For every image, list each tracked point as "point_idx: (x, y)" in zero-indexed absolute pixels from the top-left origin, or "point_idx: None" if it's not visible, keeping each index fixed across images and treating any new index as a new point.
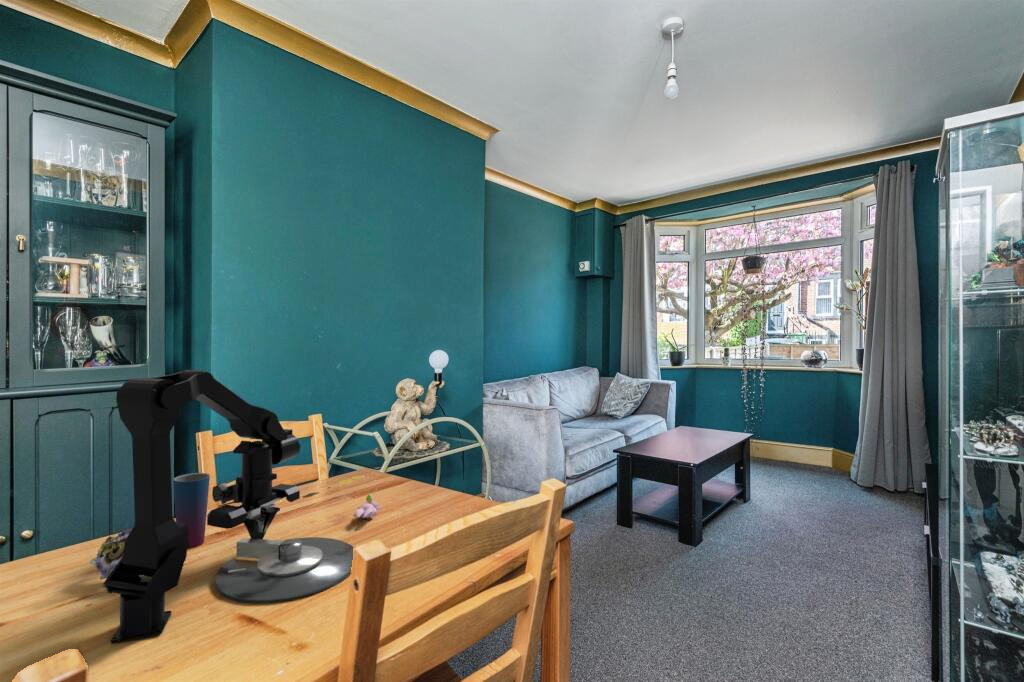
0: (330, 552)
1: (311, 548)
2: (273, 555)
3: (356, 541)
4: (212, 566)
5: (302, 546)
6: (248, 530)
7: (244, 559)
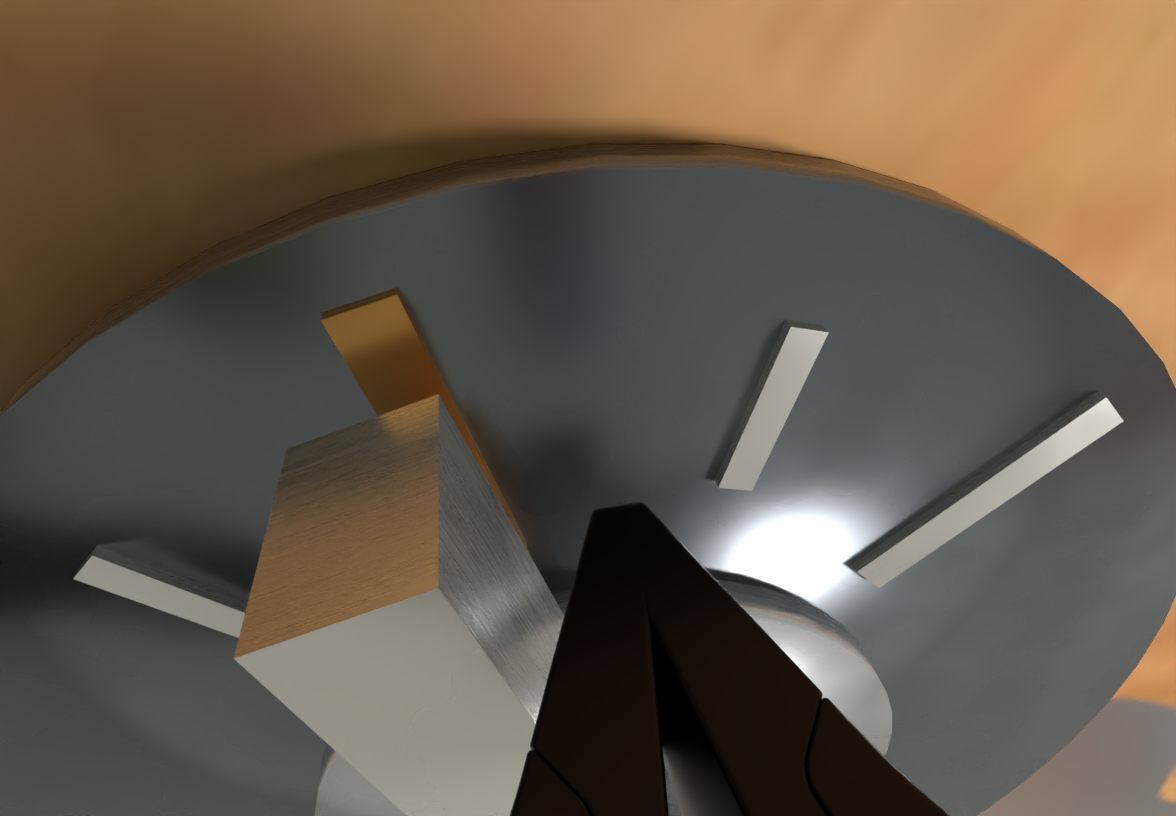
0: None
1: None
2: None
3: (1161, 682)
4: (39, 3)
5: (865, 707)
6: (526, 785)
7: None
